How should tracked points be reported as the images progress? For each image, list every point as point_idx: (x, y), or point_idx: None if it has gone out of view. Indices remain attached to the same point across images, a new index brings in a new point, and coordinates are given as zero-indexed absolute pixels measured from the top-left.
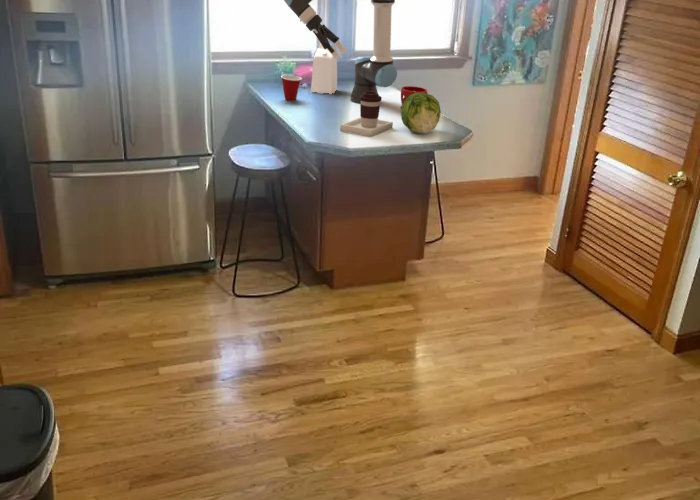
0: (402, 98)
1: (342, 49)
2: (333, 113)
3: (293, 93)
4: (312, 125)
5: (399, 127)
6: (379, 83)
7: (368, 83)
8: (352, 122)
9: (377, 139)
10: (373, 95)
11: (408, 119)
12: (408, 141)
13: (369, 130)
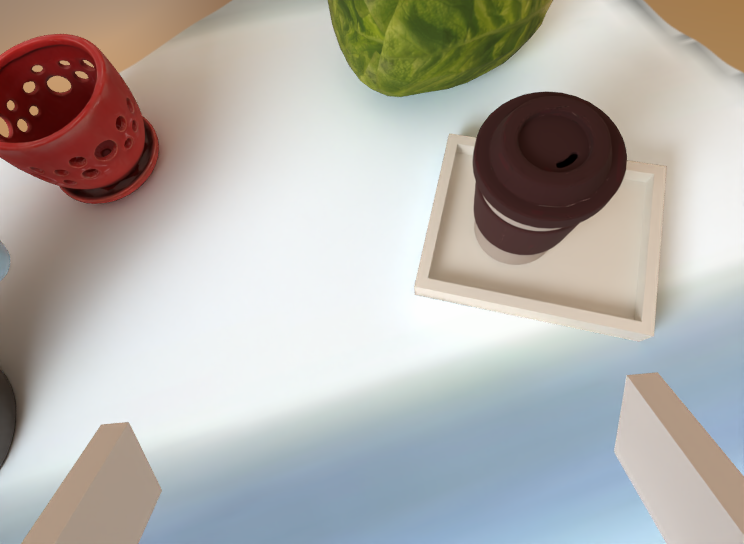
0: (102, 160)
1: (107, 524)
2: (298, 503)
3: None
4: (632, 523)
5: (416, 129)
6: (7, 269)
7: None
8: (542, 303)
9: (671, 146)
10: (594, 112)
11: (539, 17)
12: (616, 42)
13: (665, 175)
